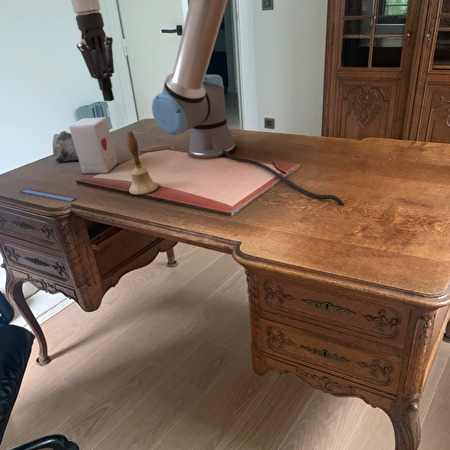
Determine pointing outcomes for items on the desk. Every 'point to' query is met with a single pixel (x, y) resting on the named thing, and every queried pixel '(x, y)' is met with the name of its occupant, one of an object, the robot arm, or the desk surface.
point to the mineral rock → (64, 147)
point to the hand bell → (139, 171)
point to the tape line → (48, 195)
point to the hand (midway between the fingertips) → (109, 100)
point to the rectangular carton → (93, 145)
